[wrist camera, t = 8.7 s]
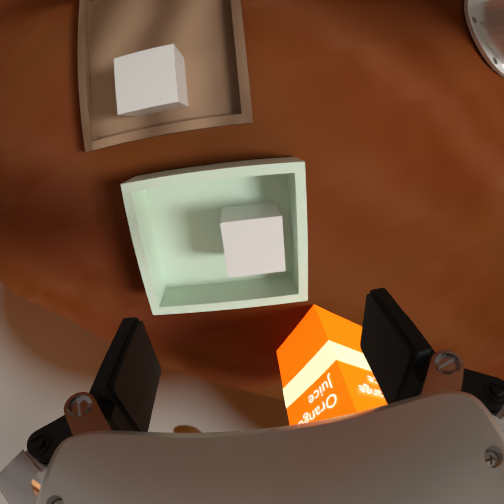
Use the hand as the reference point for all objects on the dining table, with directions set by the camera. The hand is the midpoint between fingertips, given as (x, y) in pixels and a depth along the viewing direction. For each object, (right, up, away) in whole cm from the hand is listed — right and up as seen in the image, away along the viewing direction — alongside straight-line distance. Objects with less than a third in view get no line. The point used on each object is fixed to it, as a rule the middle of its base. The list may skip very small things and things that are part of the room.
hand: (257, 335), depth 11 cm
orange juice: (+8, -7, +22) cm, 24 cm away
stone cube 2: (-8, +17, +9) cm, 21 cm away
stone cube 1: (0, +5, +15) cm, 16 cm away
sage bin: (-3, +5, +15) cm, 16 cm away
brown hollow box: (-8, +21, +8) cm, 24 cm away
